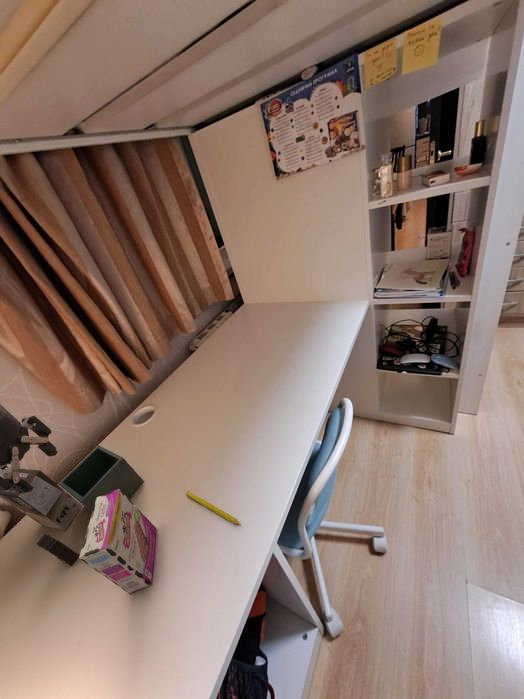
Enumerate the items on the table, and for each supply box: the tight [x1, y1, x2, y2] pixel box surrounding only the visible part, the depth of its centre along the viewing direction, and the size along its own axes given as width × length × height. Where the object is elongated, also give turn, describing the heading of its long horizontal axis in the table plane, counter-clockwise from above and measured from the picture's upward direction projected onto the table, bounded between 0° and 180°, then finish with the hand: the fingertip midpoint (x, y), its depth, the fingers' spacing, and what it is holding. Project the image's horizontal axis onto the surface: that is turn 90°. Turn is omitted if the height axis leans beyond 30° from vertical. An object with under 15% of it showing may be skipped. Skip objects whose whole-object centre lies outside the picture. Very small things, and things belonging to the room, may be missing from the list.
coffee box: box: [0, 468, 83, 531], centre depth 70 cm, size 9×6×16 cm
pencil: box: [185, 490, 241, 525], centre depth 64 cm, size 16×1×1 cm, turn 58°
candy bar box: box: [78, 489, 157, 594], centre depth 56 cm, size 11×5×16 cm, turn 13°
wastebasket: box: [57, 444, 145, 513], centre depth 73 cm, size 12×12×10 cm
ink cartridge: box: [36, 533, 80, 567], centre depth 63 cm, size 5×2×8 cm, turn 67°
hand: (42, 471), depth 62 cm, fingers open, 8 cm apart
